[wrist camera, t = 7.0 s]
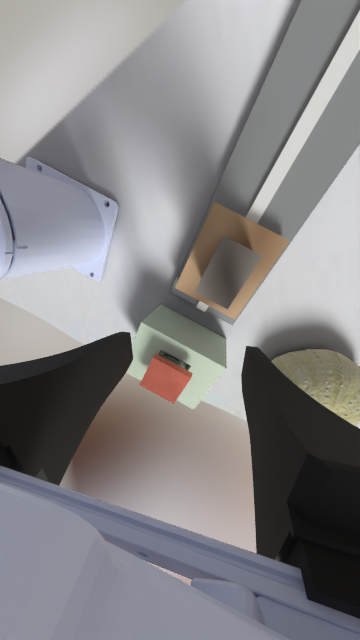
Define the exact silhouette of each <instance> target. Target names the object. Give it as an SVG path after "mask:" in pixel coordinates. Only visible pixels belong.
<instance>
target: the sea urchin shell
mask: <svg viewBox="0 0 360 640" xmlns="http://www.w3.org/2000/svg"><path fill="white" fill-rule="evenodd" d="M271 362H272V363H273V364H274V365H275V366H276V367H277V368H278V369H279V370H280V371H281V372H282V373H283V374H284V375H285V376H286V377H288V378H289V379H290V380H291V381H292V382H293V383H294V384H295V385H297V386H298V387H299V388H300V389H302V390H303V391H304V392H306V393H307V394H308V395H309V396H311V397H312V398H313V399H315V400H316V401H317V402H319V403H320V404H322V405H323V406H325V407H326V408H328V409H329V410H331V411H332V412H334V413H335V414H337V415H338V416H340V417H341V418H343V419H344V420H346V421H348V422H349V423H351V424H353V425H354V426H357V424H358V422H360V366H357V365H356V364H355V363H354V362H352V361H351V360H350V359H349V358H348V357H346V356H345V355H344V354H341V353H338V352H335V351H331V350H329V349H306V350H300V351H294V352H288V353H286V354H283V355H281V356H278V357H275V358H274V359H273V360H272V361H271Z"/></svg>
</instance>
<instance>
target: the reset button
mask: <svg viewBox="0 0 360 640" xmlns="http://www.w3.org/2000/svg"><path fill="white" fill-rule="evenodd" d="M185 367H186V363H185V362H183V361H181V360H179V359H177V358H176V357H174V356H172V355H170V354H168V353H166V352H165V353H164V355H163V356H160V355H158V354H156V353H155V355H154V357H153V358H152V360H151V362H150V364H149V366H148V368H147V370H146V372H145V374H144V377H143V379H142V381H141V383H140V385H141V386H143V387H145V388H146V389H148V390H150V391H152V392H154V393H155V394H157V395H159V396H161V397H163V398H165V399H166V400H168V401H171V402H172V403H175V401H176V400H177V398H178V397H179V395H180V394H181V392H182V391H183V390H184V388H185V387H186V385H187V384H188V382H189V381H190V379H191V377H192V373H191V372H189V371H188V370H186V369H185Z"/></svg>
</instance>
